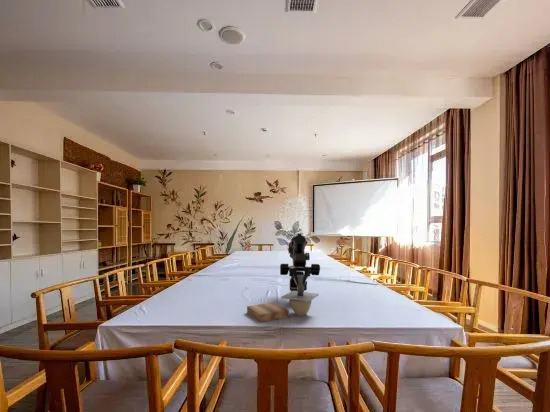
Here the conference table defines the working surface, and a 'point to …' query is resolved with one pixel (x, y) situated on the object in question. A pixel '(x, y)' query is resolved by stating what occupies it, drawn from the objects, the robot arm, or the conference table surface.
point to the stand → (267, 312)
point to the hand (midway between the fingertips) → (300, 284)
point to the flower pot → (300, 307)
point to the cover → (300, 293)
